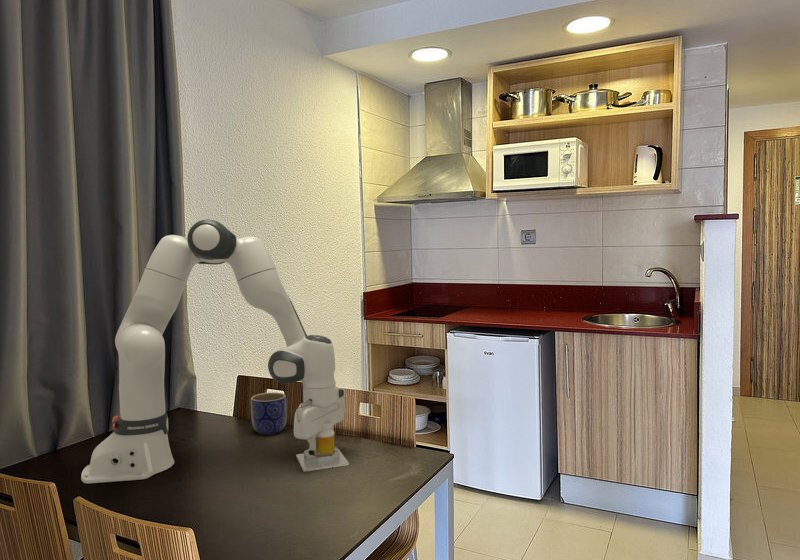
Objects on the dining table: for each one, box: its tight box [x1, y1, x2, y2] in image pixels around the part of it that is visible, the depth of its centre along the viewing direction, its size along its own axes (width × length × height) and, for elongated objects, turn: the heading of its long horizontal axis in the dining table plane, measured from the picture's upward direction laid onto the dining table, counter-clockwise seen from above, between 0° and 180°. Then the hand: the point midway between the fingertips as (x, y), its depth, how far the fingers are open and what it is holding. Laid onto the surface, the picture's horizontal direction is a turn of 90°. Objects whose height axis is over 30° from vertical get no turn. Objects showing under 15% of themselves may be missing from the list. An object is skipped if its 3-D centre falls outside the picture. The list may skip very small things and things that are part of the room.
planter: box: [250, 392, 288, 436], centre depth 190 cm, size 11×11×11 cm
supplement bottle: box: [314, 421, 335, 456], centre depth 164 cm, size 5×5×10 cm
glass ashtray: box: [295, 446, 350, 473], centre depth 164 cm, size 12×12×3 cm
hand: (320, 445), depth 164 cm, fingers open, 5 cm apart
